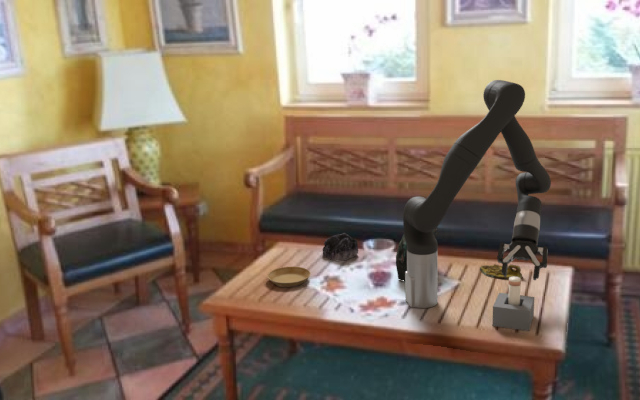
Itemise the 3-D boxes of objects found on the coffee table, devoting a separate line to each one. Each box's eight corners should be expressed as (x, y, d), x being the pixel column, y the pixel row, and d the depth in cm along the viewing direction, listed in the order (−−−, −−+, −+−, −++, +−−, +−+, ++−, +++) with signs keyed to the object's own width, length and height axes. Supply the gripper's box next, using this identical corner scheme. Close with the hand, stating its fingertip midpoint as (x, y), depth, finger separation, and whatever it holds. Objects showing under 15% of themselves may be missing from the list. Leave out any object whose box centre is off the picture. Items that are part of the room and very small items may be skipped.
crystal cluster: (324, 251, 256) (320, 227, 253) (359, 247, 255) (355, 223, 252) (322, 266, 244) (319, 241, 240) (359, 262, 243) (356, 237, 239)
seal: (474, 277, 226) (517, 285, 217) (473, 265, 224) (517, 272, 216) (484, 265, 233) (527, 273, 224) (484, 253, 231) (526, 260, 223)
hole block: (529, 331, 184) (529, 311, 183) (492, 325, 188) (492, 306, 187) (533, 315, 193) (534, 296, 191) (498, 311, 197) (499, 292, 196)
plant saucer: (280, 271, 237) (280, 264, 237) (318, 276, 231) (317, 269, 230) (260, 286, 224) (259, 279, 224) (298, 292, 218) (298, 285, 218)
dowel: (510, 320, 189) (512, 281, 186) (505, 315, 192) (506, 277, 189) (521, 319, 189) (523, 280, 186) (516, 314, 192) (517, 275, 189)
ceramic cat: (427, 262, 238) (426, 209, 232) (442, 266, 233) (442, 212, 228) (392, 279, 224) (391, 223, 219) (408, 284, 220) (407, 227, 214)
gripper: (501, 221, 203) (493, 269, 196) (550, 225, 197) (544, 275, 190) (503, 232, 209) (496, 279, 202) (551, 236, 203) (545, 285, 196)
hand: (519, 277), depth 196 cm, fingers open, 8 cm apart
